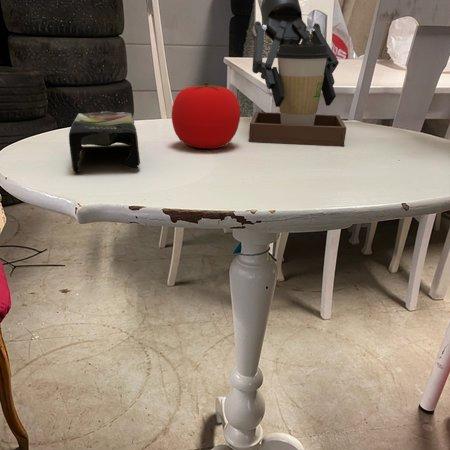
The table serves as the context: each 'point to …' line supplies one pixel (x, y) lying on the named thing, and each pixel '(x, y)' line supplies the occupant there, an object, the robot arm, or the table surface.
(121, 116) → the black box
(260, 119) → the serving tray
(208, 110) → the tomato
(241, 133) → the table surface
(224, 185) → the table surface
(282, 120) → the coffee cup
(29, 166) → the table surface
